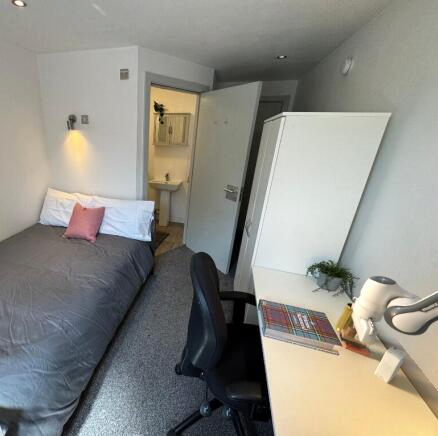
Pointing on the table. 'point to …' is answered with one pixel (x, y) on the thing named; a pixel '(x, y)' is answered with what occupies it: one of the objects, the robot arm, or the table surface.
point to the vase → (345, 318)
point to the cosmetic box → (390, 364)
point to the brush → (351, 337)
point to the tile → (357, 349)
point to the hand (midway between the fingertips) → (355, 335)
